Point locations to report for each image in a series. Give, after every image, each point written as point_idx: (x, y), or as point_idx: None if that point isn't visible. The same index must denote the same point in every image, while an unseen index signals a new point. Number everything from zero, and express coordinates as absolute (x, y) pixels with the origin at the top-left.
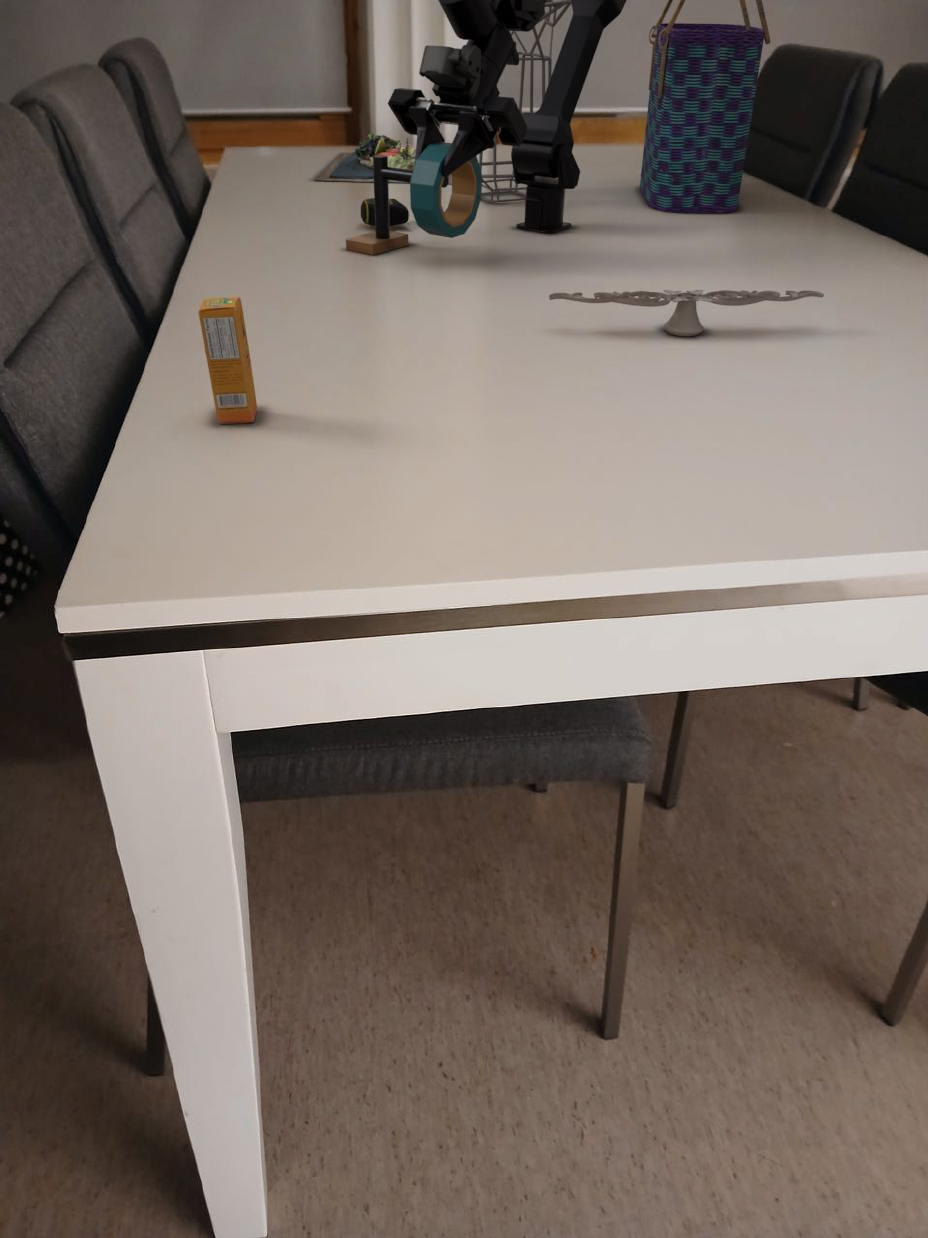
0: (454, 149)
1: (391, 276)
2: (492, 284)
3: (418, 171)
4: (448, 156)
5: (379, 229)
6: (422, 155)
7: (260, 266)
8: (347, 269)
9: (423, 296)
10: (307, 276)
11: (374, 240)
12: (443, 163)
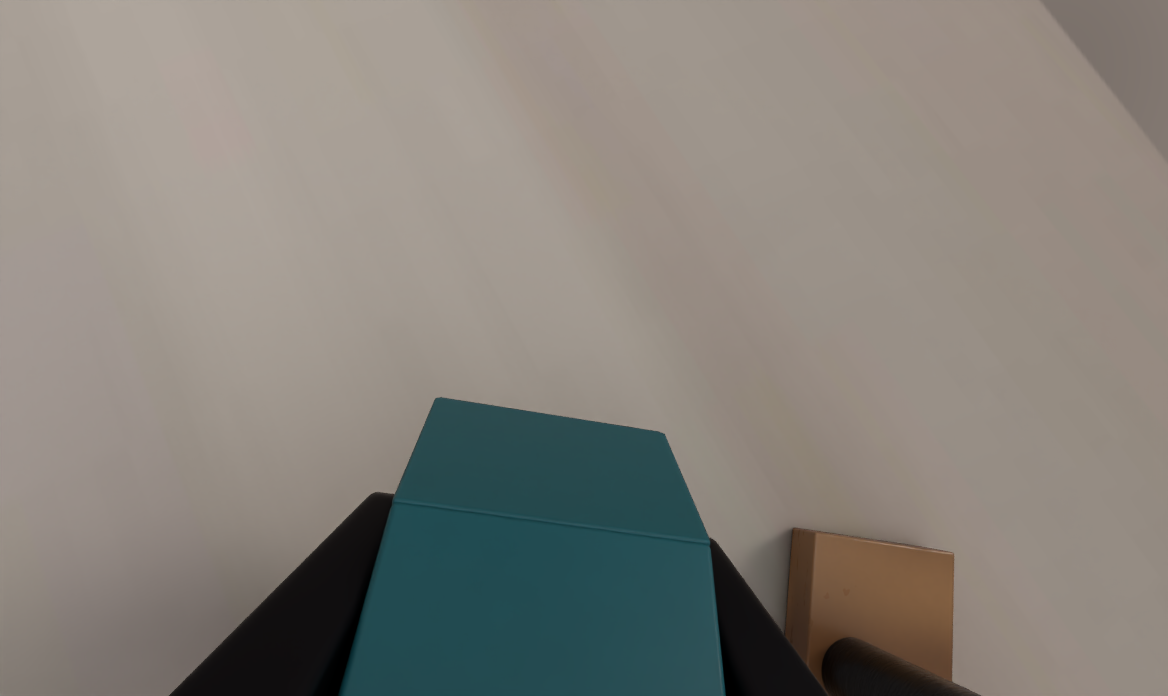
0: (199, 688)
1: (565, 278)
2: (143, 347)
3: (626, 467)
4: (309, 603)
5: (870, 649)
6: (682, 608)
7: (994, 202)
8: (749, 293)
9: (336, 96)
10: (803, 159)
11: (845, 595)
12: (377, 546)
